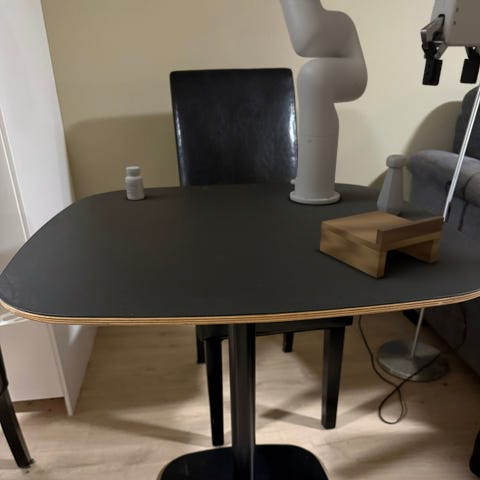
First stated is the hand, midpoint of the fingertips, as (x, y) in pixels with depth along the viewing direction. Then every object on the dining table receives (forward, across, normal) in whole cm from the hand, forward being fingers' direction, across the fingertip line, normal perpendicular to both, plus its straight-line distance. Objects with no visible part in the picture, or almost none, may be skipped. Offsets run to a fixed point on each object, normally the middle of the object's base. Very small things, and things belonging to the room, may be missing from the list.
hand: (449, 84), depth 86 cm
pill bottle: (+29, +42, -57) cm, 77 cm away
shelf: (+27, +18, +6) cm, 33 cm away
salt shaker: (+28, -3, -12) cm, 30 cm away
